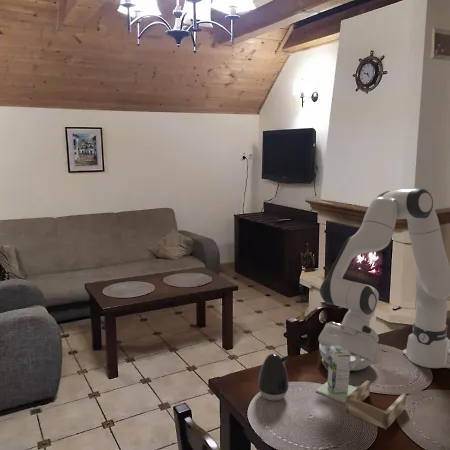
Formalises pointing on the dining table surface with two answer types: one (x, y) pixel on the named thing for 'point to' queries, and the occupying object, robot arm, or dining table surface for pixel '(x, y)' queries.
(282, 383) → the pump dispenser
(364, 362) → the serving bowl
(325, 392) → the sage mat
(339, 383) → the syrup box
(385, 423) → the holder bay
